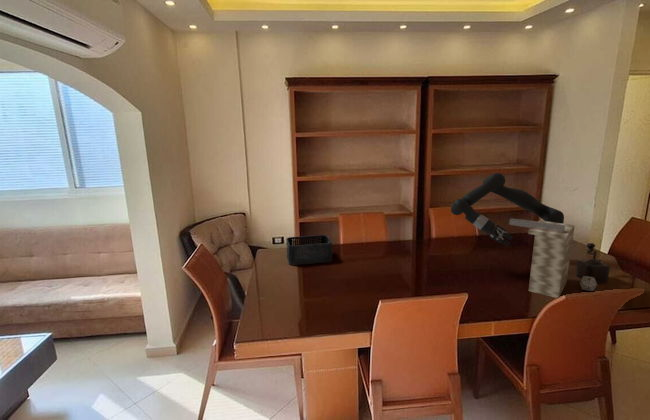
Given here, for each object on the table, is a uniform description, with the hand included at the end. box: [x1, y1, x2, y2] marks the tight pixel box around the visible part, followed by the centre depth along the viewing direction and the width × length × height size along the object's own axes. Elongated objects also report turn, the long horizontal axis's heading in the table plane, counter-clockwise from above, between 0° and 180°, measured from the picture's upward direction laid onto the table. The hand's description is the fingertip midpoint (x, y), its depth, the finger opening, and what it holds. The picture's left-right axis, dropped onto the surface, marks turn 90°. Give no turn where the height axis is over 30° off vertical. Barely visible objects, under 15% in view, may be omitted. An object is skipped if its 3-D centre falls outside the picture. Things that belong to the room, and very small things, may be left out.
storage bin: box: [286, 234, 333, 266], centre depth 230 cm, size 29×19×13 cm
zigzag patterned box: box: [527, 220, 576, 299], centre depth 181 cm, size 16×24×32 cm, turn 138°
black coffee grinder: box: [575, 242, 611, 284], centre depth 191 cm, size 16×11×18 cm
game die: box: [577, 274, 600, 292], centre depth 177 cm, size 9×8×10 cm
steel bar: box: [508, 217, 565, 233], centre depth 177 cm, size 24×3×3 cm, turn 48°
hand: (510, 241), depth 190 cm, fingers open, 8 cm apart
